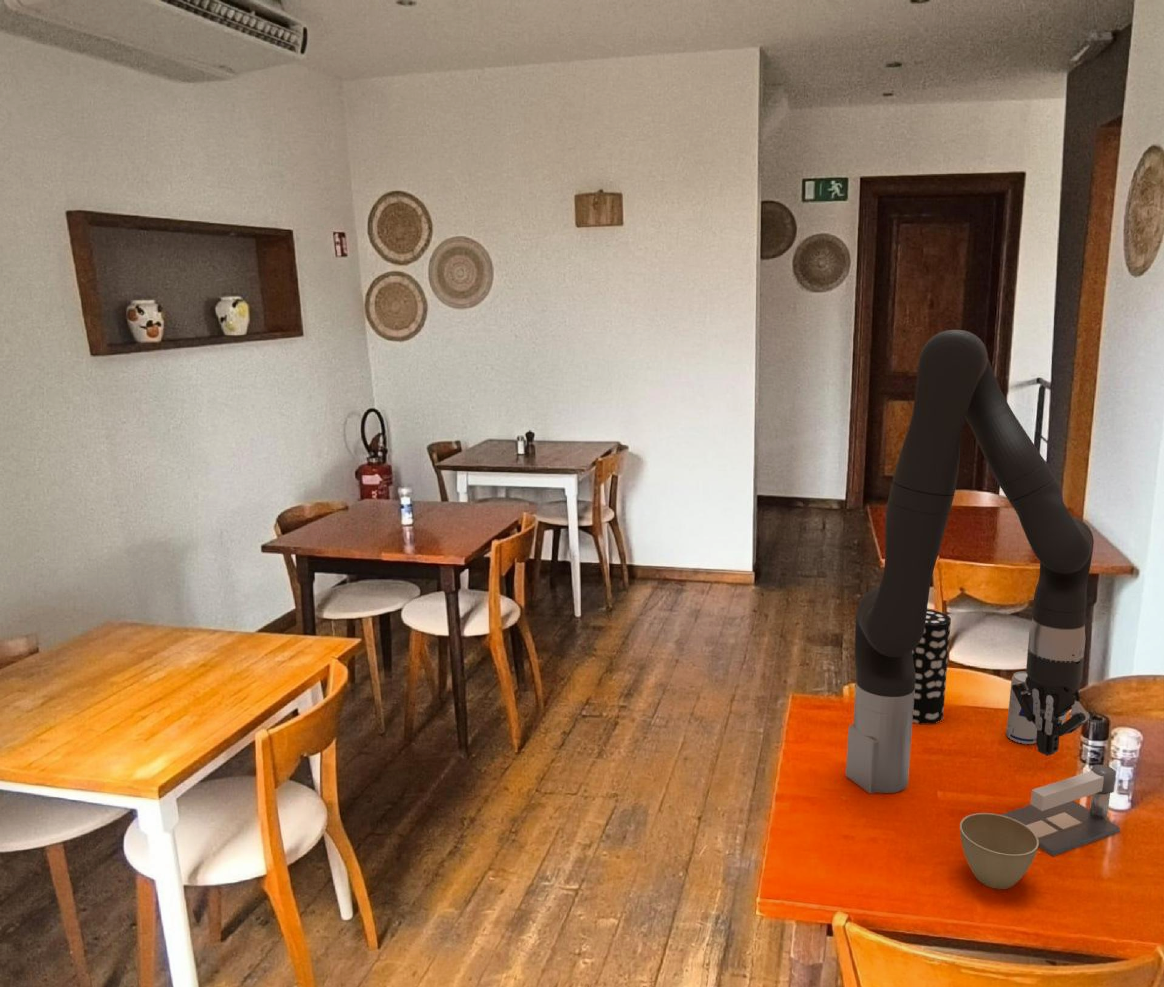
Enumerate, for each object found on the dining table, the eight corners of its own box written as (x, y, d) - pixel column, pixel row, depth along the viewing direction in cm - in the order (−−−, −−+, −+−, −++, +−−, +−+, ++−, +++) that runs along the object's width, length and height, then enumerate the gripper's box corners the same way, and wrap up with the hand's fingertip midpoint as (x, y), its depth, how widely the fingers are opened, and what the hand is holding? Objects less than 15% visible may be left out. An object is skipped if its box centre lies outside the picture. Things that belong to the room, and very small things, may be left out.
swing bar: (1099, 780, 141) (1101, 762, 141) (1118, 790, 138) (1120, 772, 138) (1026, 803, 135) (1028, 785, 135) (1045, 815, 133) (1047, 796, 132)
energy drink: (1042, 746, 162) (1048, 684, 159) (1010, 743, 163) (1016, 682, 160) (1033, 732, 167) (1040, 672, 164) (1002, 729, 168) (1008, 670, 165)
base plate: (1053, 856, 131) (1053, 849, 131) (997, 819, 140) (998, 813, 140) (1119, 832, 137) (1120, 825, 136) (1062, 798, 146) (1062, 792, 145)
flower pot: (1029, 910, 120) (1034, 863, 119) (949, 885, 126) (953, 840, 124) (1037, 869, 129) (1042, 825, 127) (962, 848, 134) (966, 804, 132)
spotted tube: (937, 728, 169) (945, 628, 164) (892, 717, 173) (898, 619, 169) (947, 710, 176) (955, 614, 171) (903, 700, 180) (909, 606, 176)
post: (1099, 823, 139) (1103, 795, 138) (1085, 815, 141) (1089, 787, 140) (1110, 819, 140) (1113, 791, 139) (1096, 811, 142) (1099, 784, 141)
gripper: (1001, 638, 141) (994, 739, 145) (1077, 670, 129) (1067, 779, 133) (1036, 629, 144) (1028, 729, 148) (1113, 659, 132) (1102, 766, 136)
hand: (1046, 752), depth 140 cm, fingers closed
